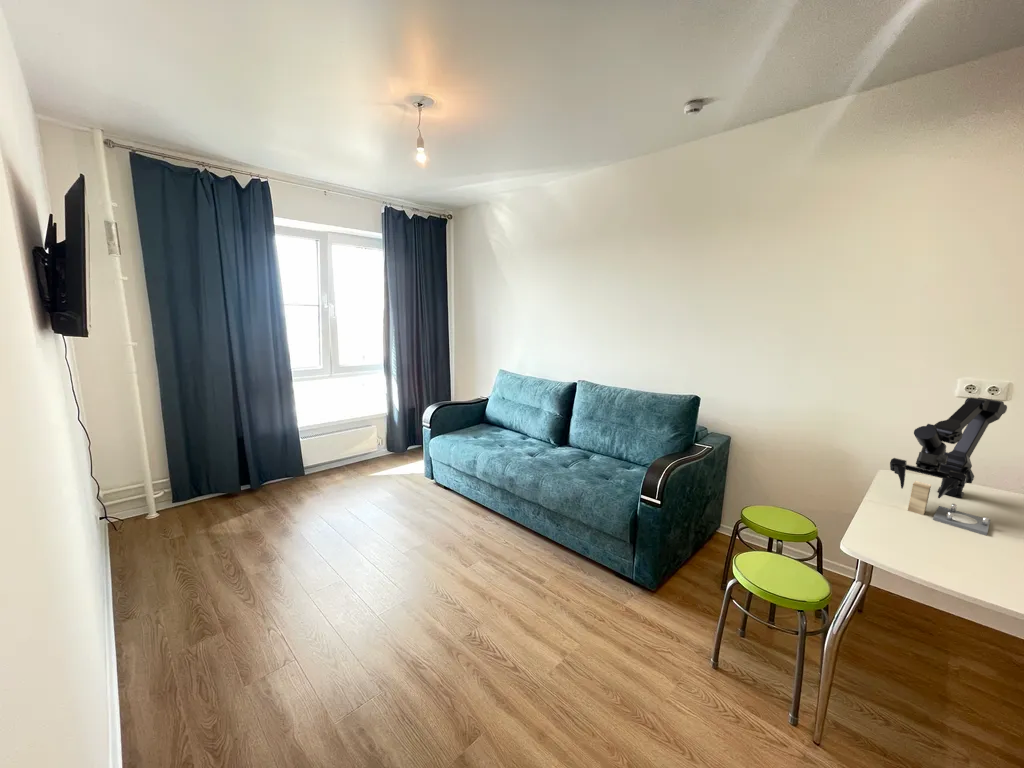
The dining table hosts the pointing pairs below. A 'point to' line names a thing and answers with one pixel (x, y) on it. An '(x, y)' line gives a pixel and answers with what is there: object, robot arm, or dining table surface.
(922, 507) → the maple block
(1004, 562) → the dining table surface
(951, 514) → the plate
